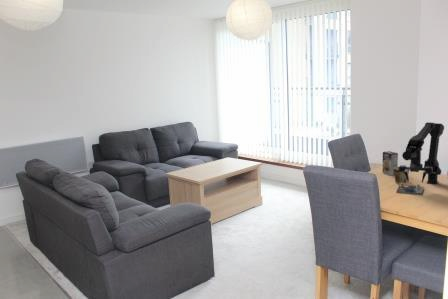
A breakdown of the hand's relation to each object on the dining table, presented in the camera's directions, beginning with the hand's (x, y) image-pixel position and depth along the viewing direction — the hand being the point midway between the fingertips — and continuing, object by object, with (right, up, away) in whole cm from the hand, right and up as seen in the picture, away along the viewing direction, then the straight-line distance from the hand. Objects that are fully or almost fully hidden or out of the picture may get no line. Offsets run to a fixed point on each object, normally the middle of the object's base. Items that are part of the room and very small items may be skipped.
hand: (415, 182), depth 245 cm
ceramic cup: (-1, -2, +19) cm, 19 cm away
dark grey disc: (-4, -3, 0) cm, 5 cm away
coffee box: (+2, +3, +43) cm, 43 cm away
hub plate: (-4, -5, -1) cm, 6 cm away
